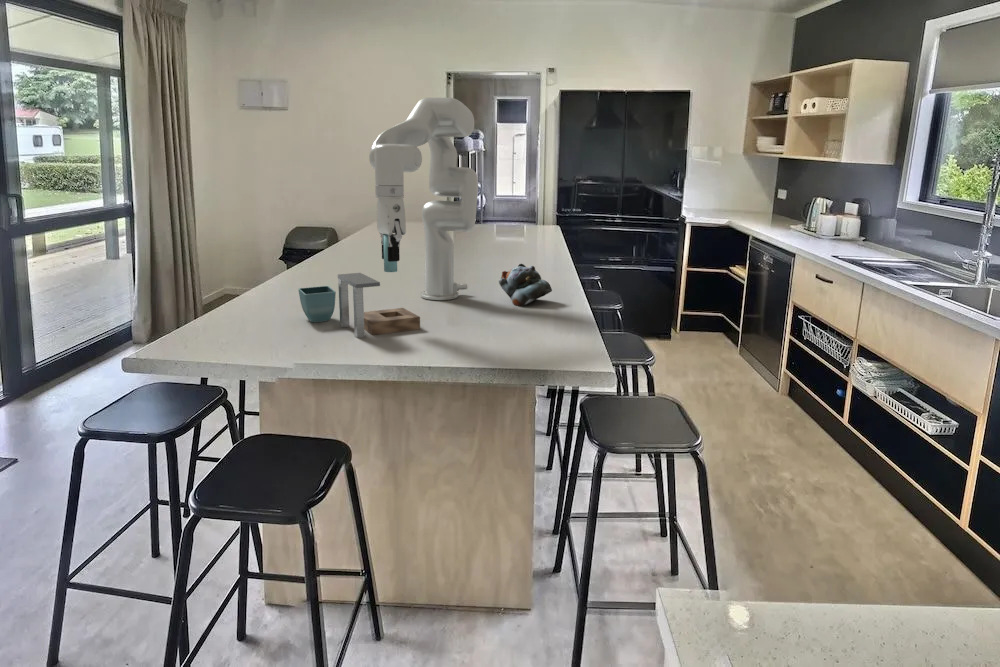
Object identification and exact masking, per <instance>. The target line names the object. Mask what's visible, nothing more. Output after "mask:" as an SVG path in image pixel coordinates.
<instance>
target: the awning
mask: <svg viewBox="0 0 1000 667" xmlns="http://www.w3.org/2000/svg"><path fill="white" fill-rule="evenodd" d="M337 281H338V307H339V308H338V309H339V325H340V326H339V327H341V328H349V327H350V311H349V310H350V305H349V304H350V303H349V302H350V301H349V286H351V287H352V294H353V295H352V299H353V301H352V302H353V324H354V326H353V327H354V337H355V338H357V339H360V338H365V330H364V312H365V311H364V310H365V309H364V308H365V307H364V306H365V305H364V288H371V287H373V288H374V287H381V282H380V281H378V280H376V279H374V278H372V277H370V276H368V275H366V274H364V273H362V272H353V273H339V274H337Z"/></svg>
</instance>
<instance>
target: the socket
mask: <svg viewBox="0 0 1000 667" xmlns="http://www.w3.org/2000/svg"><path fill="white" fill-rule="evenodd" d="M416 330H421V316H419V315H418V314H416V313H413V312H411V311H410V310H408V309H406V308H404V307H397V308H391V309H380V310H369V311H364V332H366V333H368V334H370V335H371V336H375V335H376V336H377V335H384V334H391V333H399V332H407V331H408V332H409V331H416Z"/></svg>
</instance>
